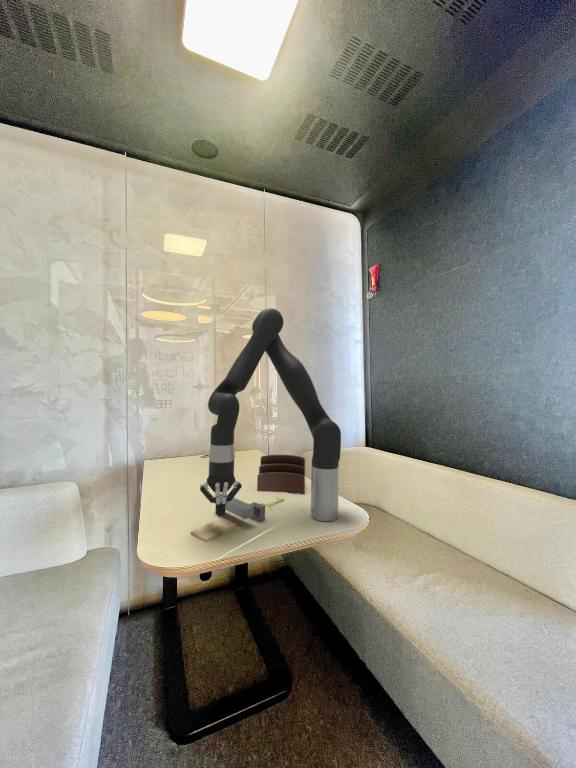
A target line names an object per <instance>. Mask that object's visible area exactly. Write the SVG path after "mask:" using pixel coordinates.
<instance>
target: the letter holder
mask: <svg viewBox="0 0 576 768" xmlns="http://www.w3.org/2000/svg"><path fill="white" fill-rule="evenodd" d="M305 476H306V459H305V457H303V456H299V455H293V454H268V455H267V454H265V455H262V456H260V465H259V468H258V474H257V479H256V481H257V482H256V483H257V484H256V485H257V486H256V491H257V492H267V493H268V492H269V493H270V492H271V493H287V494H290V493H300V494H299V495H305V494H306V493H305V491H306V477H305Z"/></svg>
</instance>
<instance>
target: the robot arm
mask: <svg viewBox="0 0 576 768" xmlns="http://www.w3.org/2000/svg"><path fill="white" fill-rule="evenodd" d="M283 327H284V318H283V315H282V313H281V312H280V311H279V310H277V309H276V308H272V307H270V308H265V309H263V310H262V311H260V312H259V313H258V314H257V316H256V317H255V319H254V320H253V321H252V324H251V329H252V335H251V336H250V339H249V340H248V341H247V343H246V344H245V346H244V348H243V349H242V350H241V352H239V353H240V354H239V355H238V356H237V357H236V359H235V360H234V362H233V364H232V366H231V367H230V369H229V371H228V372H227V374H226V377H225V378H224V379H223V380H222V381H221V382H220V383H219V384H218V386H217V387H216V388H215V389H214V390H213V391H212V393H211V395H210V397H209V399H208V402H207V408H208V410H209V412H210V413H211V414H213V415H215V416H217V419H216V423H215V424H213V425H212V426H211V428H210V429H211V430H210V444H209V445H210V446H209V454H208V476H207V478H206V482H205V483H203V484H200V486H199V490H200V492H201V493H202V494H203V495H204V497H205V498H206V499H207V500H208V502H209V503H211V504H215V515H217V517H224V515H225V514H226V510H225V506H226V502H228V501H231V500H232V499H233V498H235V497H236V495H237V494H238V492H239V491H240V490H241V489H242V487H243V486H242V483H241V482H240V481H238V480H236V477H235V457H236V456H235V455H236V454H235V453H236V452H235V428H236V427H237V426H236V425H237V422H238V418H239V413H240V402H239V398H238V397H237V396H236V395H237V394H239V393H240V392H243V391H244V390H245V389H246V387H247V386H248V384H249V382H250V380H251V379H252V377H253V374H254V373H255V372H256V369H257V366H258V365H259V364H260V362H261V360H262V357H263V356H264V354H265V353H266V354H267V356H268V358H269V359H270V361H271V363H272V365H273V367H274V369H275V371H276V372H277V374H278V376H279V378H280V380H281V382H282V384H283V386H284V387H285V390H286V392H288V394H289V396H290V397H291V399H292V400H293V402H294V404H295V405H296V406H297V408H298V409H299V410H300V412H301V413H302V415H303V418H304V419H305V421H306V424H307V426H308V428H309V431H310V434H311V436H312V438H313V442H312V443H313V449H312V450H313V451H312V457H311V478H310V479H311V481H310V482H311V483H310V484H311V485H310V487H311V488H310V517H311V518H312V519H314V520H316V521H320V522H332V521H333V522H334V521H335V520H336V518H337V519H338V514H339V469H340V468H339V465H340V464H339V463H340V459H341V446H342V445H341V444H342V433H341V429H340V427H339V425H338V424H337V423H336V422H334V421H333V419H331V418H330V416H329V415H328V413H327V412H326V411H325V409H324V407H323V406H322V404H321V402H320V399H319V397H318V394H317V391H316V388H315V385H314V382H313V380H312V378H311V376H310V375H309V373H308V371H307V369H306V368H305V366H304V364H303V363H302V362H301V361H300V359H299V358H297V357H296V356H295V355H294V354H293V353H292V352H290V351H289V349H288V348H287V347H286V345H285V344H284V342H283V341H282V338H281V336H280V334H279V333H281V331H282V329H283ZM232 487H233V488H232ZM209 488H210V489H211V490H212V491H213V493H214V495H212V493H211V492H210V491H209ZM231 488H232V489H231ZM230 489H231V490H230ZM229 490H230V491H229ZM228 491H229V493H228ZM220 494H222V495H221V502H220Z"/></svg>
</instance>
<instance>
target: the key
mask: <svg viewBox="0 0 576 768" xmlns="http://www.w3.org/2000/svg"><path fill="white" fill-rule="evenodd" d="M284 500H285V499H284V497H280V496H279V497H277V498H276V500H274V501H272V502H268V504H267V503H264V502H261V503H258V504H261V505H264V506H265V507H268V508H269V509H265V512H271V511H272V510H273V505H277V504H279V503H281V502H284Z"/></svg>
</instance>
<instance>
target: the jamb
mask: <svg viewBox="0 0 576 768" xmlns="http://www.w3.org/2000/svg"><path fill="white" fill-rule="evenodd" d="M249 504H250V505H252V506H254V516H252V517H250V518H249V519H251V520H254V521H256V522H258V523H261V522H263V521H265V520H266V506H265V505H261V504H259V503H258V502H256V501H253V502H251V503H249Z"/></svg>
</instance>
